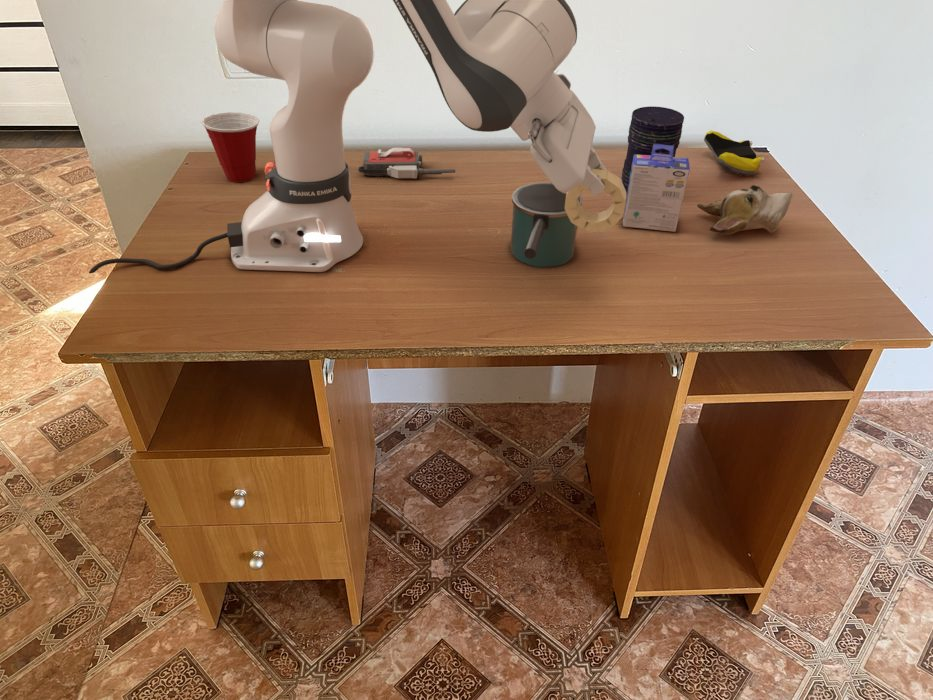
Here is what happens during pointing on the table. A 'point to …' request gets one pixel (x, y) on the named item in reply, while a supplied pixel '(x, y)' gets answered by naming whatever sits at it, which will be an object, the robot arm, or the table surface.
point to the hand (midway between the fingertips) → (602, 183)
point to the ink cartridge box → (656, 190)
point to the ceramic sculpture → (748, 210)
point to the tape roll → (602, 219)
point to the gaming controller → (733, 154)
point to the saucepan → (542, 226)
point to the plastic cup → (234, 143)
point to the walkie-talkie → (396, 164)
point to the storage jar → (651, 134)
